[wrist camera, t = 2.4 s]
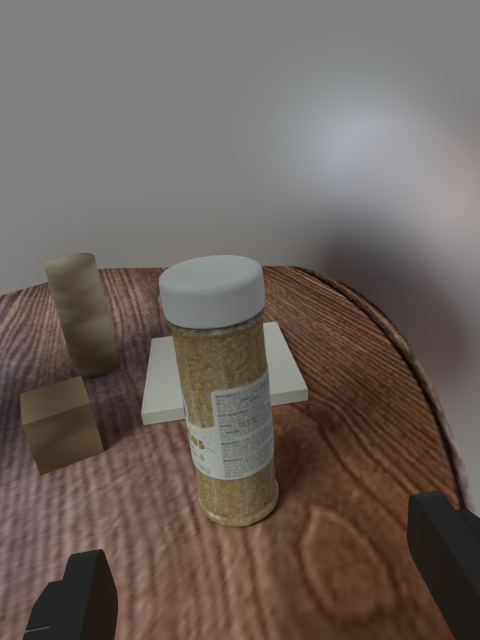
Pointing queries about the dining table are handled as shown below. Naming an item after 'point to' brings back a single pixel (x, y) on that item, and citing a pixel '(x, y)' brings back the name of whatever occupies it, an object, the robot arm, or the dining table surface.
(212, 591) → the dining table surface
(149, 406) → the ceramic tile
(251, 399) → the sprinkles bottle
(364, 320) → the dining table surface
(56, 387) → the walnut block
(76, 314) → the beech dowel
